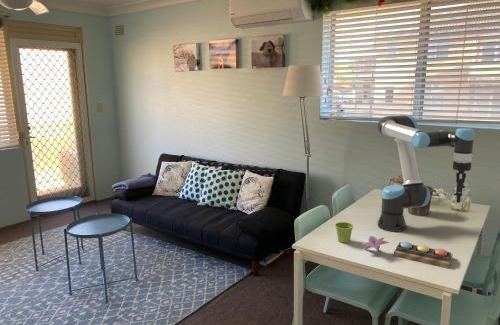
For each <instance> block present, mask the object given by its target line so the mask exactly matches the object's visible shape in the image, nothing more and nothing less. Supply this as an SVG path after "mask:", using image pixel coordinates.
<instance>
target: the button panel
mask: <svg viewBox="0 0 500 325" xmlns="http://www.w3.org/2000/svg"><path fill="white" fill-rule="evenodd" d="M418 246H419V245H415V244H412V248H411V249H404V248H401V241H400V242H399V243H398V244H397V245H396V248H395V249H394V251H393V257H397V258H401V259H406V260H409V261H414V262H415V261H416V262H419V263H424V264H429V265H432V266H437V267H442V268H447V269H450V266H451V263H452V260H453V254H454V253H452V252H451V251H447V256H445V257H443V256H438V255H436V254H435V249H436V248H432V247H429V252H428V253H423V252H419V251H418V250H417V247H418Z"/></svg>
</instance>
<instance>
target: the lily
mask: <svg viewBox="0 0 500 325" xmlns="http://www.w3.org/2000/svg"><path fill="white" fill-rule="evenodd" d="M384 239H385V237H381V238H377V237H375V236H373V235H370V236H369V237H368V242H363V243H362V245H364V246H365V247H364V250H368V249H371V248H374V249H375V251H376V255H377V257H379V253H378V251H379V250H380V247H381V245H385V244H389V243H390V242H389V241H387V240H384Z"/></svg>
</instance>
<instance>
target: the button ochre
mask: <svg viewBox="0 0 500 325" xmlns="http://www.w3.org/2000/svg"><path fill="white" fill-rule="evenodd" d="M417 246H418V247H417V250H418V251H419V252H423V253H428V252H429V248H430V247H429V246H427V245H423V244H421V245H420V244H419V245H417Z"/></svg>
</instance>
